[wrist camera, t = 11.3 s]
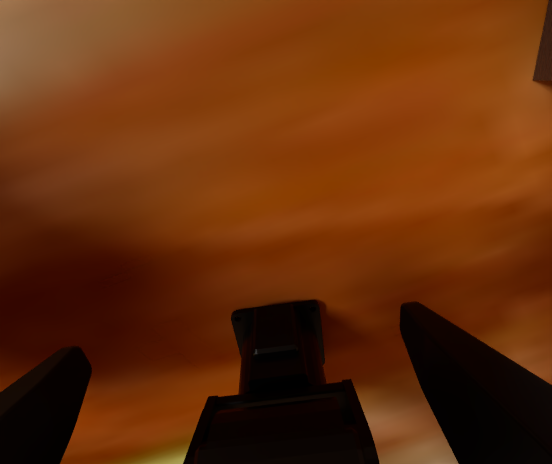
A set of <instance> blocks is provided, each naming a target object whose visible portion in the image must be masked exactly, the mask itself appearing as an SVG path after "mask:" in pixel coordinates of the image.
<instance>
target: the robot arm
mask: <svg viewBox="0 0 552 464" xmlns="http://www.w3.org/2000/svg"><path fill="white" fill-rule="evenodd" d="M312 306H313V307H314V308H310V307H312ZM237 316H239V317H240V318H237ZM231 321H232V325H233V329H234V332H235V336H236V340H237V344H238V347H239V351H240V355H241V370H240V383H239V395H231V396H223V397H218V396H209V397H208V399H207V401H206V404H205V407H204V409H203V411H202V413H201V416H200V419H199V422H198V424H197V427H196V430H195V432H194V435H193V438H192V441H191V443H190V446H189V449H188V452H187V454H186V457H185V460H184V463H183V464H379V459H378V455H377V451H376V447H375V444H374V441H373V437H372V434H371V431H370V428H369V426H368V423H367V420H366V418H365V415H364V412H363V410H362V407H361V404H360V402H359V399H358V396H357V394H356V391H355V388H354V386H353V383H352V380H351V379H348V380H342V382H337V383H329V384H326V379H325V374H324V369H323V365H324V363H325V358H324V348H323V338H322V328H321V318H320V308H319V304H318V302H317V301H314V300H309V301H302V302H294V303H287V304H279V305H272V306H264V307H257V308H249V309H241V310H236V311H234V312H233V313H232V315H231ZM400 331H401V335H402V338H403V340H404V343H405V346H406V349H407V351H408V354H409V357H410V359H411V362H412V365H413V368H414V370H415V373H416V376H417V378H418V381H419V383H420V386H421V388H422V391H423V393H424V395H425V397H426V399H427V401H428V403H429V405H430V407H431V409H432V411H433V413H434V415H435V417H436V419H437V421H438V423H439V425H440V427H441V429H442V431H443V433H444V435H445V437H446V439H447V441H448V443H449V445H450V447H451V449H452V451H453V453H454V455H455V457H456V459H457V461H458V463H459V464H552V385H551V384H549V383H547V382H546V381H544V380H543V379H541V378H539V377H538V376H536V375H535V374H533V373H531V372H530V371H528V370H527V369H525V368H523V367H522V366H520V365H519V364H517V363H515V362H514V361H512V360H511V359H509V358H507V357H506V356H504V355H503V354H501V353H499V352H498V351H496V350H495V349H493V348H491V347H490V346H488V345H487V344H485V343H483V342H482V341H480V340H478V339H477V338H475V337H474V336H472V335H470V334H469V333H467V332H466V331H464V330H462V329H461V328H459V327H458V326H456V325H454V324H453V323H451V322H450V321H448V320H446V319H445V318H443V317H442V316H440V315H438V314H437V313H435V312H434V311H432V310H430V309H429V308H427V307H426V306H424V305H422V304H421V303H419V302H407V303H403V304H402V305H401V310H400ZM91 372H92V368H91V364H90V363H89V361H88V359H87V357H86V356H85V354H84V352H83V350H82V349H81V348H80V347H79V346H70V347H64V348H61V349H60V350H58V351H57V352H56V353H54V354H53V355H51V356H50V357H49V358H47V359H46V360H45V361H43V362H42V363H40V364H39V365H38V366H36V367H35V368H33V369H32V370H31V371H29V372H28V373H27V374H25V375H24V376H22V377H21V378H20V379H18V380H17V381H16V382H14V383H13V384H11V385H10V386H9V387H7V388H6V389H4V390H3V391H2V392H0V464H60V462H61V460H62V458H63V455H64V453H65V450H66V448H67V446H68V443H69V441H70V438H71V436H72V433H73V430H74V427H75V425H76V422H77V419H78V415H79V412H80V409H81V406H82V403H83V399H84V396H85V393H86V390H87V386H88V383H89V380H90V377H91Z"/></svg>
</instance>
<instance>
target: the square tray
mask: <svg viewBox="0 0 552 464" xmlns="http://www.w3.org/2000/svg"><path fill="white" fill-rule="evenodd" d="M533 80H541V81H552V0H549V3H548V8H547V13H546V18H545V23H544V28H543V33H542V37H541V42H540V47H539V52H538V57H537V62H536V67H535V72H534V77H533Z"/></svg>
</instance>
